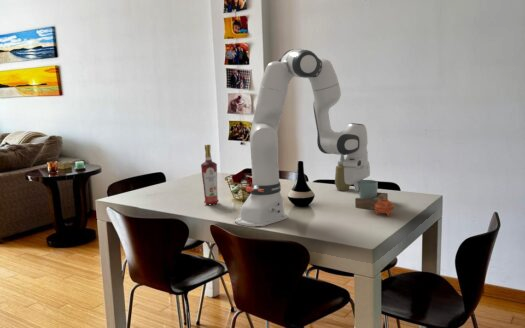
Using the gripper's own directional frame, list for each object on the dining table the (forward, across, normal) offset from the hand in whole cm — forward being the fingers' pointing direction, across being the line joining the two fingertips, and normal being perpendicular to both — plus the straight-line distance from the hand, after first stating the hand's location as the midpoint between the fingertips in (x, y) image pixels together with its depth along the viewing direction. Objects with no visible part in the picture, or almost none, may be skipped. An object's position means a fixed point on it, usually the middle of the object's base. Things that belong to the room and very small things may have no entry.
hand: (358, 190), depth 219 cm
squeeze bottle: (+6, -22, -18) cm, 29 cm away
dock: (+6, 0, +7) cm, 9 cm away
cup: (+6, 0, +4) cm, 7 cm away
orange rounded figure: (+6, +13, +17) cm, 22 cm away
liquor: (+6, +28, -62) cm, 68 cm away
